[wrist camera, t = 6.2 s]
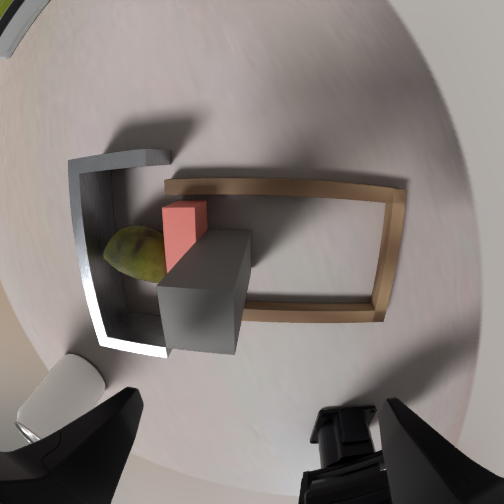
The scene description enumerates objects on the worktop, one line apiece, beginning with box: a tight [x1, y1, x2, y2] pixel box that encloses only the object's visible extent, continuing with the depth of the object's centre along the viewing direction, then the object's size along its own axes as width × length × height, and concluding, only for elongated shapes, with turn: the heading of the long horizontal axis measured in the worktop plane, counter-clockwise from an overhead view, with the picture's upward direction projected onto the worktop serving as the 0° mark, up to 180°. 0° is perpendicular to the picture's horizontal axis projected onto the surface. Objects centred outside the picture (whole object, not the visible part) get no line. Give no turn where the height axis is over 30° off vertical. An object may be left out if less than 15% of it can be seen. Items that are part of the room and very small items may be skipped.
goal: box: [68, 149, 172, 358], centre depth 18 cm, size 14×6×4 cm, turn 179°
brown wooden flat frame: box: [164, 177, 407, 323], centre depth 18 cm, size 10×16×1 cm, turn 89°
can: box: [14, 354, 105, 444], centre depth 20 cm, size 6×6×12 cm
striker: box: [156, 200, 251, 355], centre depth 15 cm, size 7×5×9 cm
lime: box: [103, 225, 167, 283], centre depth 17 cm, size 4×5×5 cm
